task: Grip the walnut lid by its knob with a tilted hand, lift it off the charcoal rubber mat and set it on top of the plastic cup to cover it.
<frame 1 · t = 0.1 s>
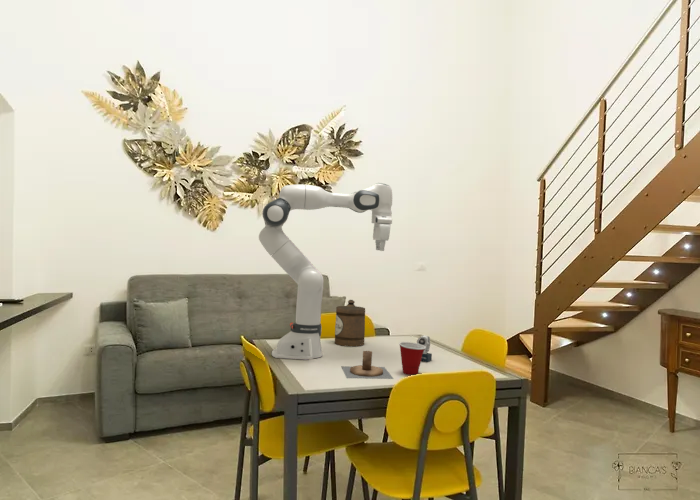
hand: (379, 250, 242), 48 cm above the table, tool pointing down, fingers open, 8 cm apart
walnut lid: (366, 372, 212), resting on rubber mat
grey black curved piece: (423, 360, 240), on the table
plastic cup: (410, 374, 214), on the table
wooden container: (349, 344, 270), on the table
rubber mat: (366, 373, 212), on the table
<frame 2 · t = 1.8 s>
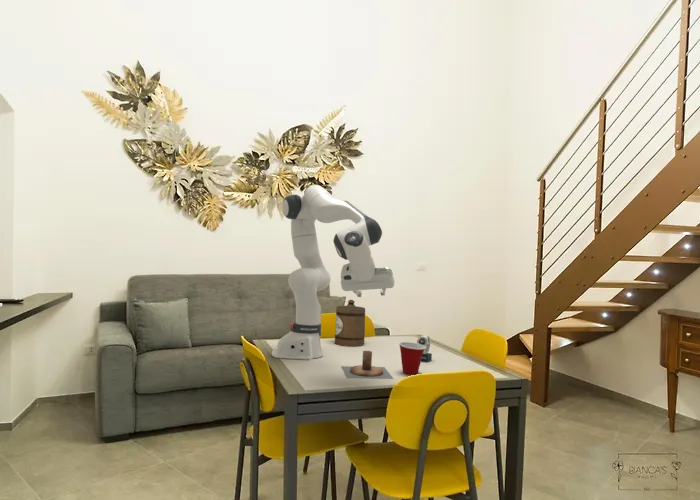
hand: (371, 295, 209), 31 cm above the table, tool tilted 40°, fingers open, 8 cm apart
nothing on the table moved.
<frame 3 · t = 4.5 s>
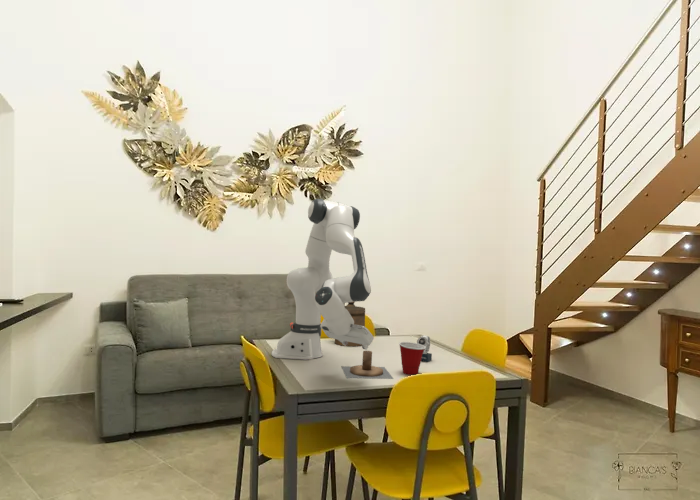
hand: (356, 346, 205), 12 cm above the table, tool tilted 45°, fingers open, 8 cm apart
nothing on the table moved.
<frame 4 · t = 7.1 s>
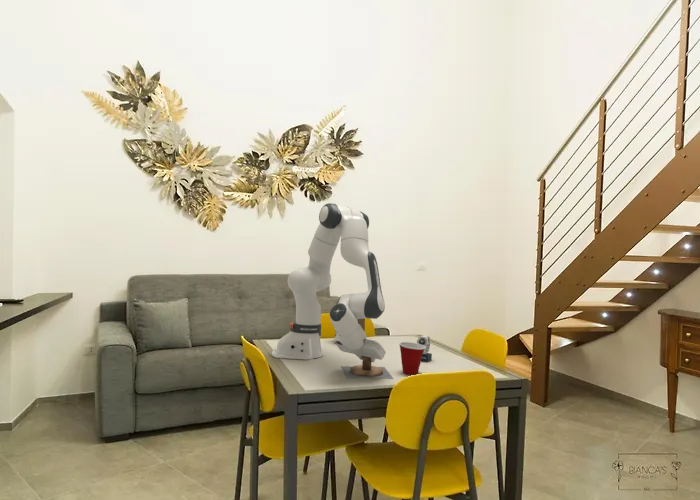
hand: (368, 359, 212), 5 cm above the table, tool tilted 45°, fingers closed on walnut lid, 4 cm apart
walnut lid: (366, 372, 212), resting on rubber mat, touching gripper
everything else where it was.
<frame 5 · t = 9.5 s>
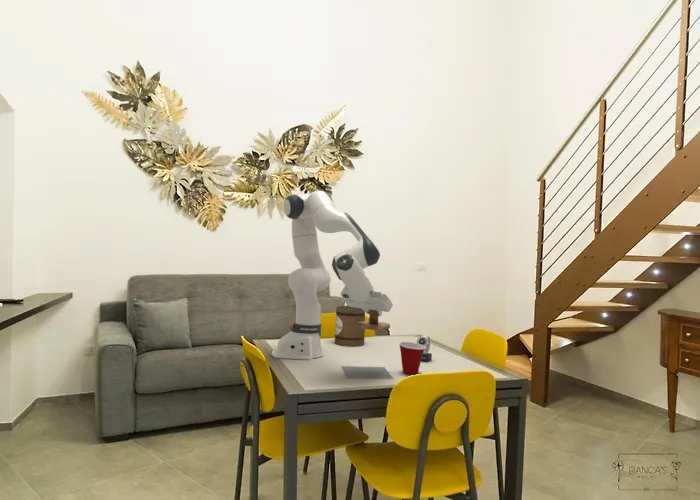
hand: (374, 313, 212), 24 cm above the table, tool tilted 45°, fingers closed on walnut lid, 4 cm apart
walnut lid: (373, 326, 212), point 18 cm above the table, touching gripper
everything else where it was.
when the fingers open (18 cm above the table, at t = 11.9 s): walnut lid drops 1 cm, resting on plastic cup.
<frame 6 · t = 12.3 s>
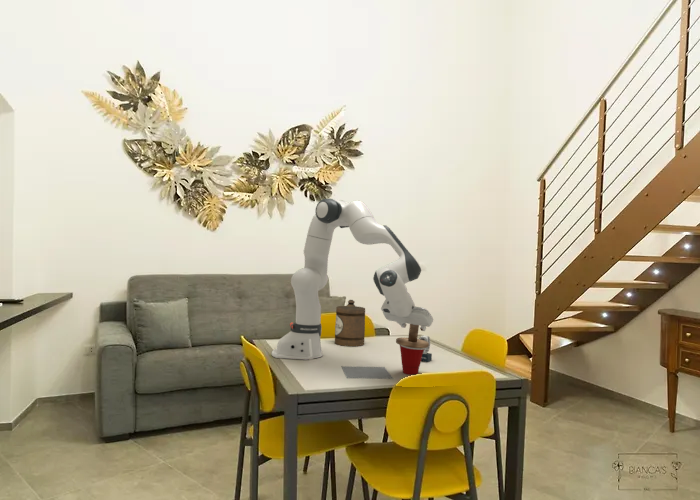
hand: (414, 328, 214), 18 cm above the table, tool tilted 45°, fingers open, 8 cm apart
walnut lid: (412, 344, 214), point 12 cm above the table, touching plastic cup
plastic cup: (410, 374, 214), on the table, touching walnut lid
everything else where it was.
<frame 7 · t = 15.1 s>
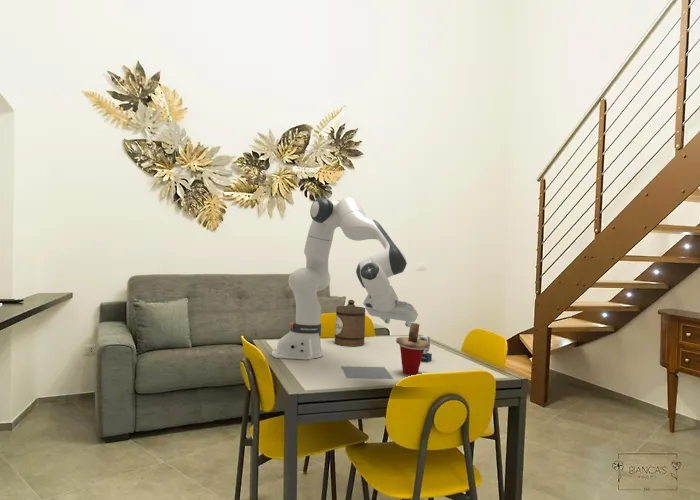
hand: (398, 323, 205), 21 cm above the table, tool tilted 45°, fingers open, 8 cm apart
nothing on the table moved.
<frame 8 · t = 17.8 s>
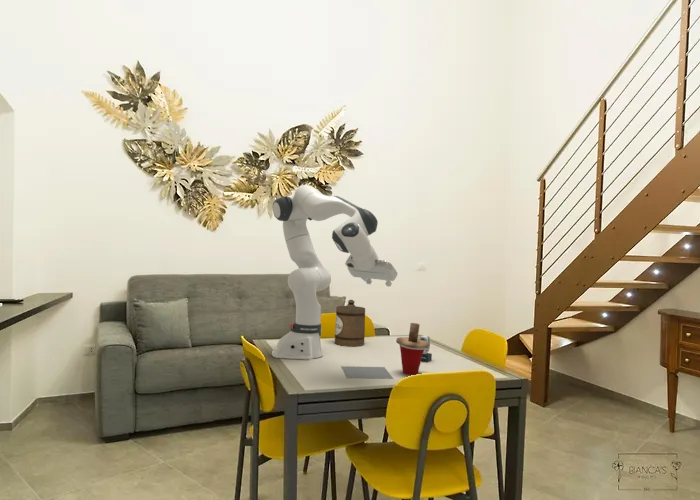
hand: (379, 284, 212), 35 cm above the table, tool tilted 45°, fingers open, 8 cm apart
nothing on the table moved.
at the end: walnut lid 0.0 cm off-centre on the plastic cup, point 12.2 cm above the plastic cup's base; walnut lid tilted 5°; plastic cup tilted 0° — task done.
